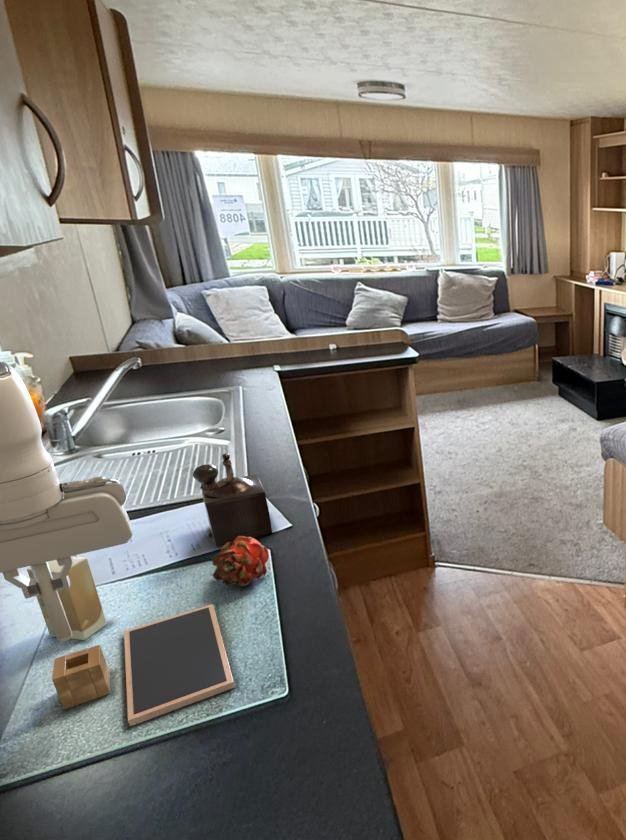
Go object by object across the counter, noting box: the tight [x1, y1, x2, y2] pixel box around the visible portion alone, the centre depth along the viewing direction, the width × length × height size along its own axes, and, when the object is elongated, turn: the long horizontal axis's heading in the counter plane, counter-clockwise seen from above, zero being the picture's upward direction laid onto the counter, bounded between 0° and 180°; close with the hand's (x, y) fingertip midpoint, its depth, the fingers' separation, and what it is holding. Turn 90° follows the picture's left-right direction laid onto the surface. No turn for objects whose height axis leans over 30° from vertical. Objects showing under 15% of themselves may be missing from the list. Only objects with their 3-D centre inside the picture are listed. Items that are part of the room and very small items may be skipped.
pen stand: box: [51, 644, 111, 710], centre depth 88 cm, size 5×5×5 cm
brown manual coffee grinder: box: [192, 452, 273, 548], centre depth 124 cm, size 16×11×18 cm
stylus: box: [31, 562, 72, 643], centre depth 83 cm, size 2×2×15 cm
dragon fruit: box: [211, 536, 270, 587], centre depth 113 cm, size 8×8×12 cm
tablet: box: [123, 603, 236, 727], centre depth 94 cm, size 12×22×1 cm, turn 35°
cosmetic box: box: [26, 556, 108, 641], centre depth 98 cm, size 6×4×12 cm
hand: (48, 591), depth 82 cm, fingers closed on stylus, 1 cm apart
